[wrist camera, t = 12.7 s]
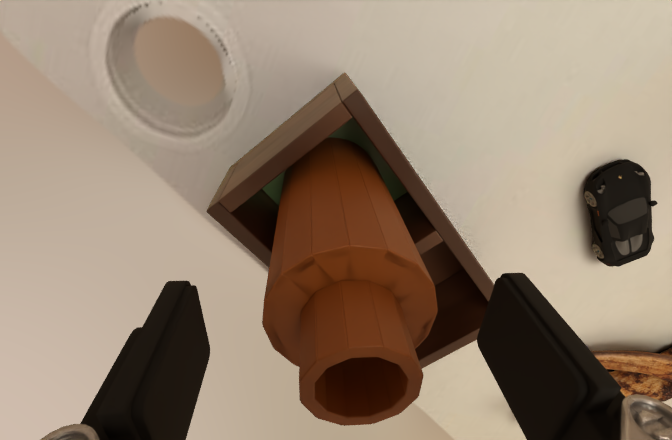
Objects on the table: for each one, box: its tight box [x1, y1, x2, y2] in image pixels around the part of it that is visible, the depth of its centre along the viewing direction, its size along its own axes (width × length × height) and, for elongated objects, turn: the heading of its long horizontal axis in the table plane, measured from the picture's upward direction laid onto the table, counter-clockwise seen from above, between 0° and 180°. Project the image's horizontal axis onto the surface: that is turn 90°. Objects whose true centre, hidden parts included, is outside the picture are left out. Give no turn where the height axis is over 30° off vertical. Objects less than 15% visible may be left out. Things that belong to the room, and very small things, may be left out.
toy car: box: [584, 160, 657, 266], centre depth 23 cm, size 8×4×2 cm, turn 27°
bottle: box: [262, 138, 438, 426], centre depth 15 cm, size 6×6×14 cm
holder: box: [207, 73, 494, 369], centre depth 21 cm, size 9×16×6 cm, turn 37°
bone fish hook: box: [591, 348, 672, 402], centre depth 31 cm, size 9×5×18 cm
